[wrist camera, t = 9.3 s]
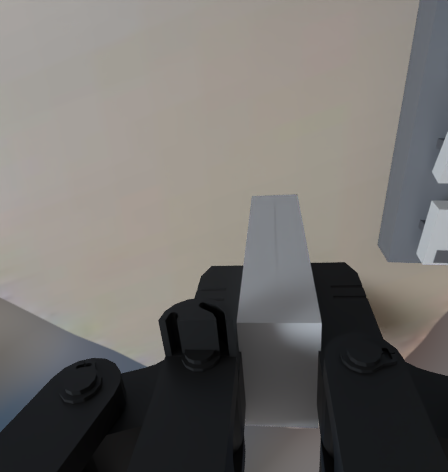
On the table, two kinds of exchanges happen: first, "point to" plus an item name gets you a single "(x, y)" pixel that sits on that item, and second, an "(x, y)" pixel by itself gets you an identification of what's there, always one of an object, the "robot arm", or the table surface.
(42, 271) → the table surface
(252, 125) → the table surface
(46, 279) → the table surface
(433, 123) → the switch strip
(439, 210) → the plate
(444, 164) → the block
